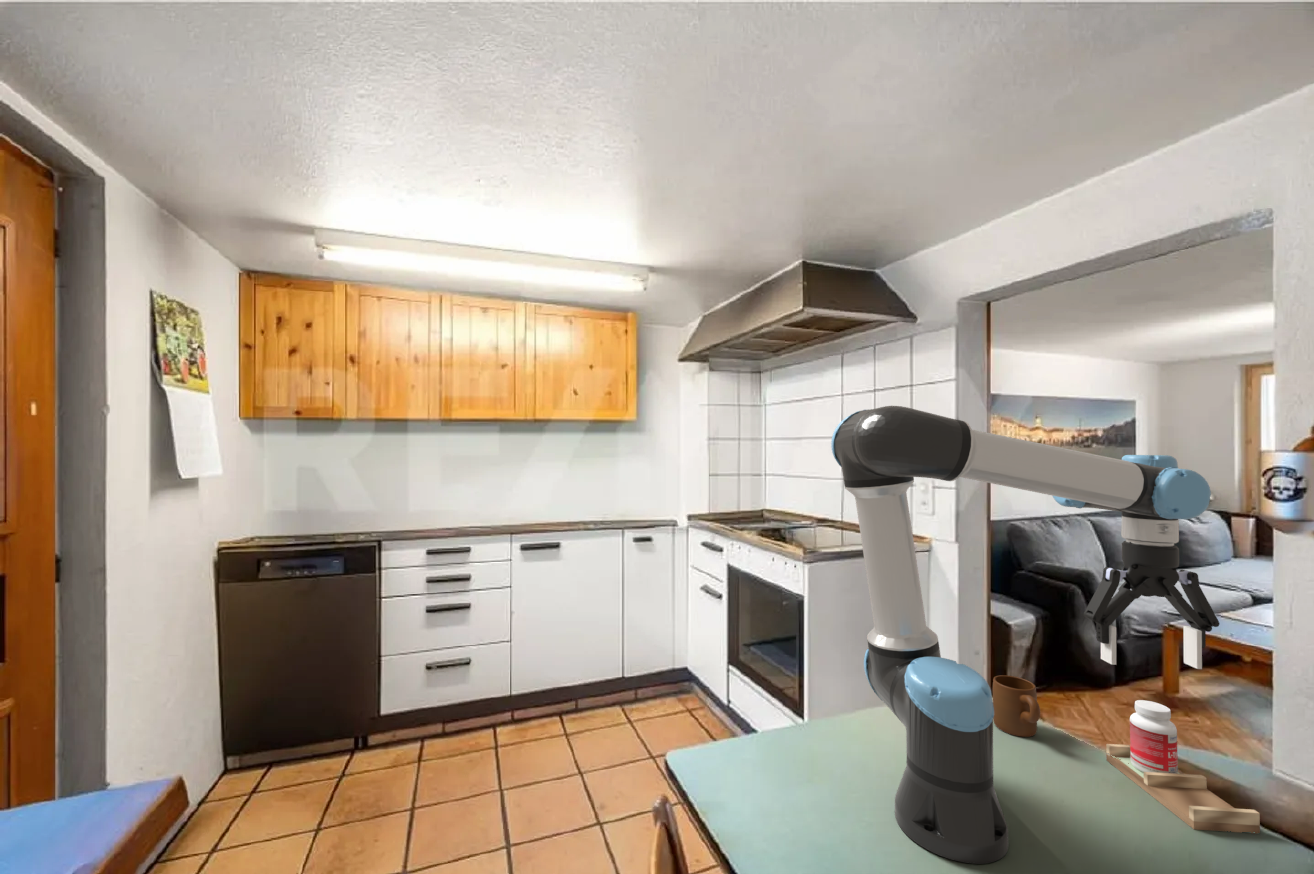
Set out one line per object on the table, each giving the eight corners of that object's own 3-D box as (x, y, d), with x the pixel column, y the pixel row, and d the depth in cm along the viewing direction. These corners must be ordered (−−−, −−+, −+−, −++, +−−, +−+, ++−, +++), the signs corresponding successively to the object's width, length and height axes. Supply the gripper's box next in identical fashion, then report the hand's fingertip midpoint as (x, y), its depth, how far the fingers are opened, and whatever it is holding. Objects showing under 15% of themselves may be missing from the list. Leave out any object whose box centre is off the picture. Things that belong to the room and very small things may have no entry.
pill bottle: (1177, 785, 91) (1175, 717, 91) (1128, 769, 96) (1127, 705, 96) (1179, 769, 96) (1177, 705, 96) (1132, 755, 100) (1131, 694, 100)
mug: (1059, 751, 104) (1058, 701, 104) (1016, 749, 105) (1016, 699, 105) (1024, 720, 116) (1023, 675, 116) (986, 718, 117) (985, 673, 117)
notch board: (1193, 829, 83) (1193, 809, 83) (1106, 760, 101) (1106, 743, 101) (1259, 833, 82) (1259, 813, 82) (1159, 763, 100) (1159, 746, 100)
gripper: (1088, 543, 94) (1088, 668, 94) (1248, 548, 91) (1249, 676, 91) (1060, 536, 101) (1060, 652, 101) (1208, 540, 99) (1208, 659, 98)
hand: (1150, 664), depth 96 cm, fingers open, 13 cm apart
